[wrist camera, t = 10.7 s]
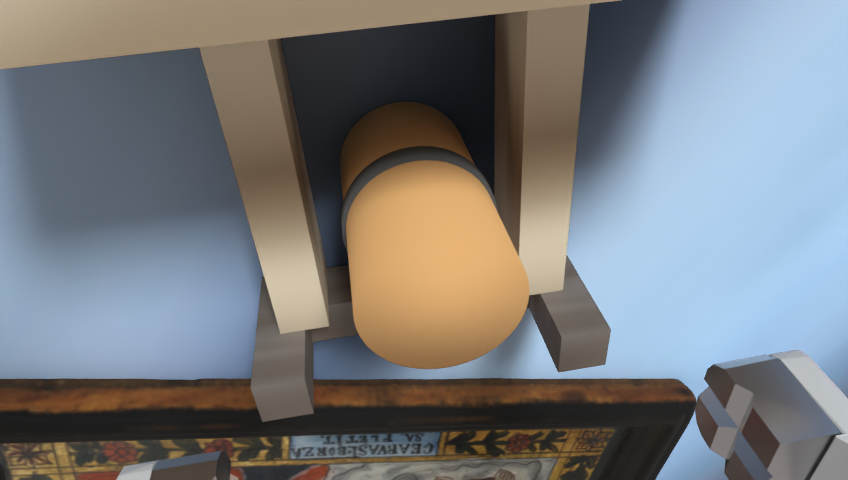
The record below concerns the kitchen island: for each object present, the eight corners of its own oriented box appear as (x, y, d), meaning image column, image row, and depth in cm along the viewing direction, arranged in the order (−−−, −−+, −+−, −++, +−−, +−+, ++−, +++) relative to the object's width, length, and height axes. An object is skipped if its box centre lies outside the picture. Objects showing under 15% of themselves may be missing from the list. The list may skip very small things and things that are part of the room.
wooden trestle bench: (-26, -113, 13) (-430, -35, 6) (729, -177, 15) (1126, -177, 8) (165, 325, 21) (89, 587, 14) (646, 252, 23) (804, 454, 16)
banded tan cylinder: (326, 107, 18) (334, 244, 12) (466, 90, 18) (537, 215, 12) (346, 224, 20) (361, 384, 14) (469, 207, 20) (530, 356, 15)
